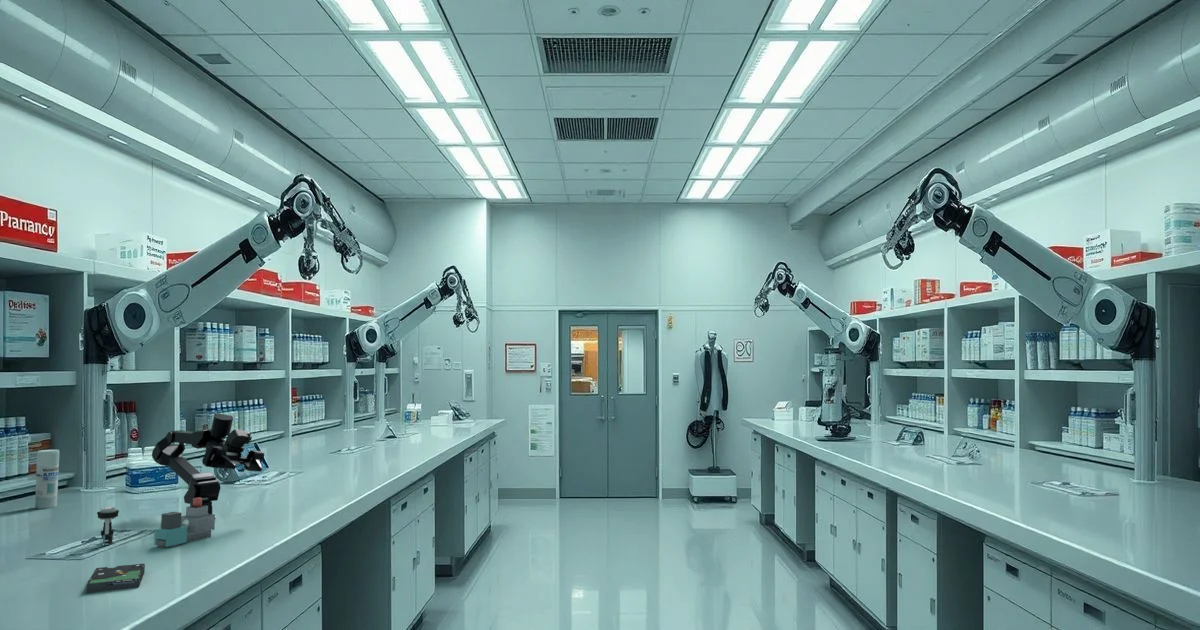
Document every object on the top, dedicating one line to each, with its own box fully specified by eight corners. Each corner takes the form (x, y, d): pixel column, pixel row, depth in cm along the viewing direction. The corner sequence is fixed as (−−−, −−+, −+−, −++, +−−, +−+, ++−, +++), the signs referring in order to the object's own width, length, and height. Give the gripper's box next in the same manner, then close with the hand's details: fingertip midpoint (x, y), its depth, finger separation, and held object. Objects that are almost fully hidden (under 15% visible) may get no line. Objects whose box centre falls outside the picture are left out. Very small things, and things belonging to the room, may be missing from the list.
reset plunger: (191, 506, 232) (191, 498, 233) (197, 505, 235) (198, 497, 235) (196, 507, 231) (196, 499, 232) (203, 506, 234) (203, 497, 234)
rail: (164, 548, 210) (164, 540, 210) (156, 547, 211) (157, 539, 211) (210, 536, 224) (211, 530, 224) (203, 536, 225) (203, 529, 225)
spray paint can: (50, 504, 275) (52, 449, 276) (61, 506, 272) (63, 450, 273) (30, 507, 269) (33, 451, 270) (41, 509, 266) (44, 451, 268)
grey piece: (177, 532, 230) (178, 507, 231) (198, 527, 237) (199, 503, 238) (193, 534, 228) (194, 509, 228) (214, 529, 234) (215, 505, 235)
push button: (116, 545, 213) (118, 509, 214) (94, 547, 211) (95, 511, 211) (118, 540, 219) (120, 505, 220) (96, 542, 217) (98, 507, 217)
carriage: (167, 546, 210) (168, 516, 210) (154, 545, 212) (155, 514, 212) (186, 542, 215) (187, 512, 216) (173, 540, 217) (174, 510, 218)
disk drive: (94, 579, 182) (85, 595, 169) (94, 567, 182) (86, 583, 169) (144, 574, 187) (140, 589, 174) (145, 562, 187) (140, 577, 174)
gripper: (205, 422, 235) (231, 440, 226) (257, 429, 250) (284, 447, 242) (190, 456, 234) (216, 475, 225) (244, 461, 249) (270, 480, 241)
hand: (248, 468), depth 233 cm, fingers open, 9 cm apart
